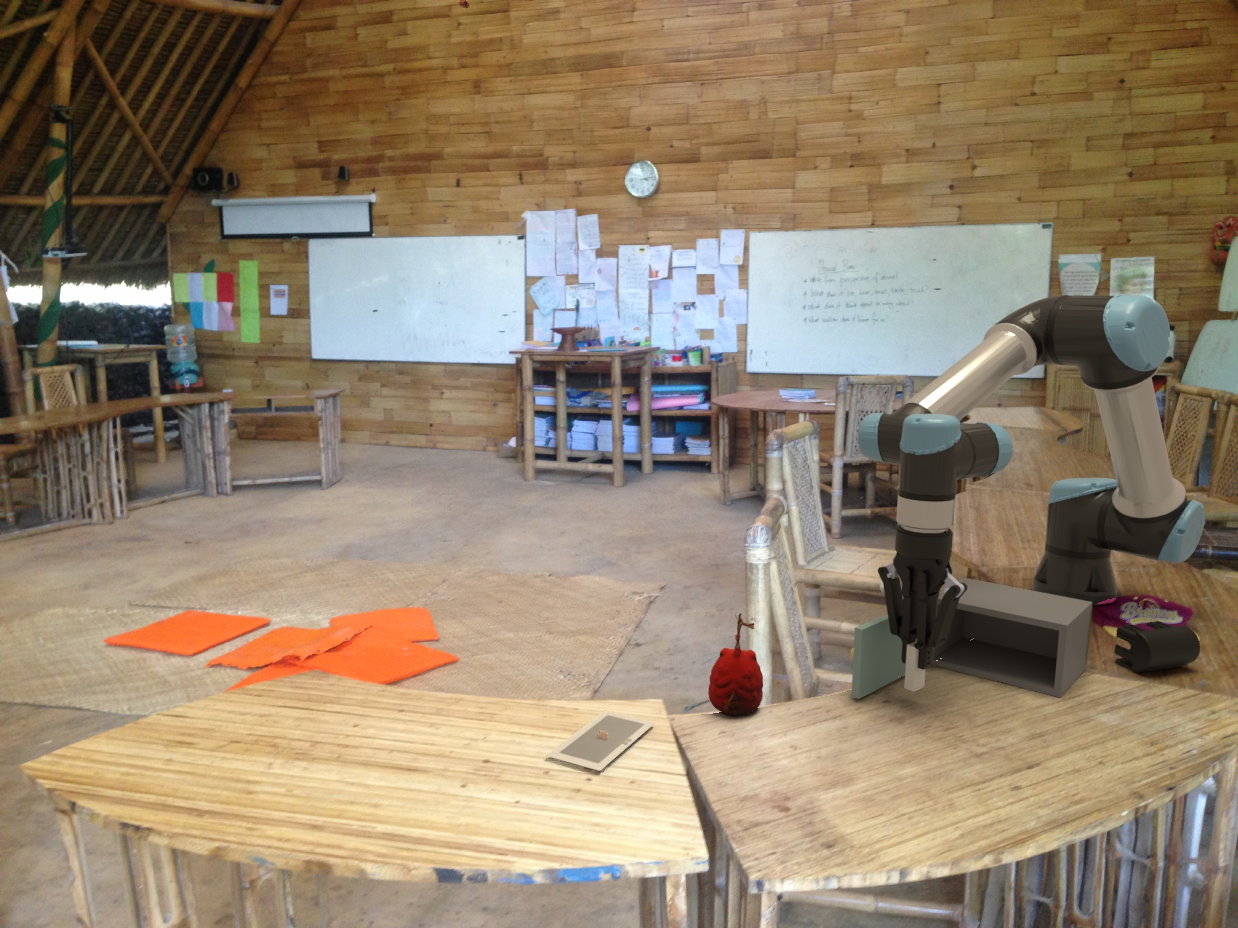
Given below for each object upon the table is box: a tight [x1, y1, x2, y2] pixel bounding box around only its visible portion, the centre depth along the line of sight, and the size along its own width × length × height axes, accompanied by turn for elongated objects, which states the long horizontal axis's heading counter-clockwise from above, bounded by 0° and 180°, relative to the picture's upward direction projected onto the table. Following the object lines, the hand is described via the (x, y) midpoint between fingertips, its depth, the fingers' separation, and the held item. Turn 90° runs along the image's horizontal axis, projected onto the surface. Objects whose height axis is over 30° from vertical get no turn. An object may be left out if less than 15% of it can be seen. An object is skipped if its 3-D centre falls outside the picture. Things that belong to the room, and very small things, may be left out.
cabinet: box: [930, 577, 1093, 699], centre depth 146 cm, size 14×20×11 cm
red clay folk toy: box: [707, 613, 764, 716], centre depth 130 cm, size 8×7×15 cm
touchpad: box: [545, 710, 656, 772], centre depth 121 cm, size 8×15×2 cm, turn 151°
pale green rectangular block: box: [849, 613, 917, 700], centre depth 140 cm, size 3×20×10 cm, turn 133°
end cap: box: [1114, 620, 1201, 673], centre depth 146 cm, size 10×7×7 cm
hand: (914, 687), depth 133 cm, fingers closed
